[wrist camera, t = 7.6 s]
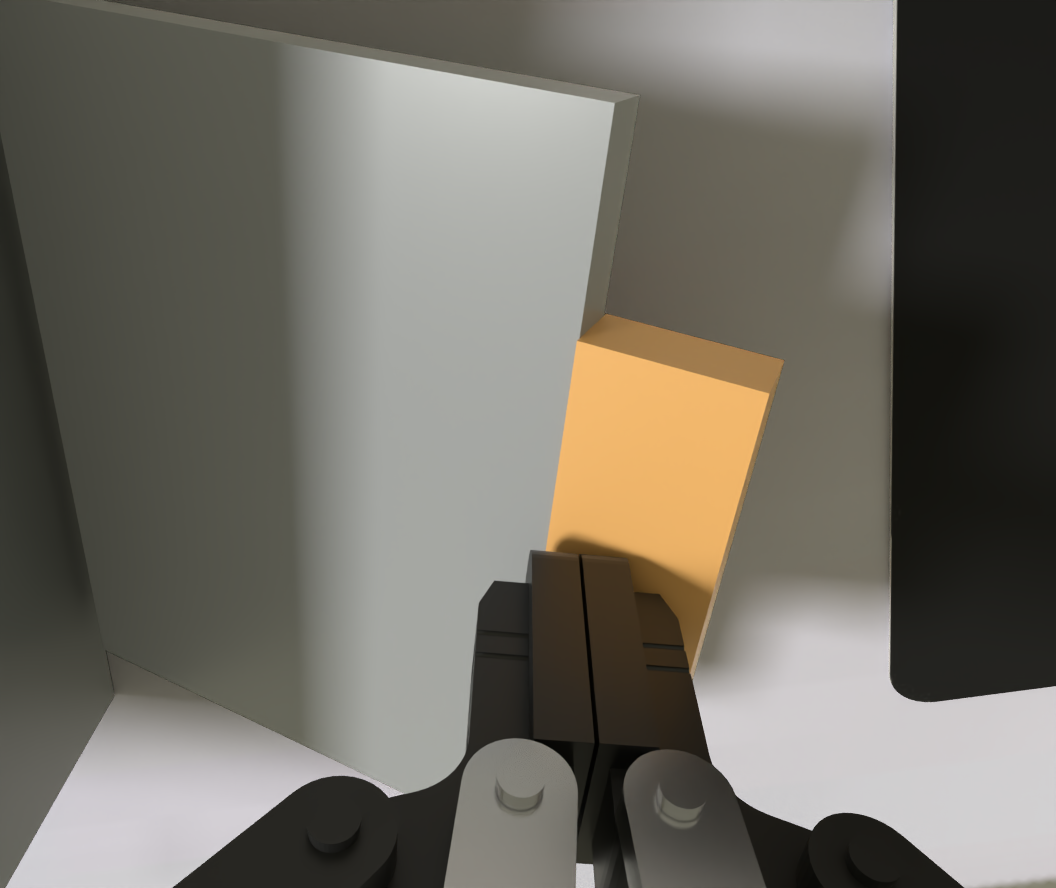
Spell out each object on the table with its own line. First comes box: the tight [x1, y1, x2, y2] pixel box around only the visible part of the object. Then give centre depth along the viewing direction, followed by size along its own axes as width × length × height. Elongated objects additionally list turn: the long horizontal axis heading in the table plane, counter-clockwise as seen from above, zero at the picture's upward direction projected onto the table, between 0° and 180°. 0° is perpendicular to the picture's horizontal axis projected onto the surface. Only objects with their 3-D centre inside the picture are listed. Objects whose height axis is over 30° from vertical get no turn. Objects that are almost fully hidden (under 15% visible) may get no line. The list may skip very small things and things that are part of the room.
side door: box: [0, 0, 785, 794], centre depth 15 cm, size 14×1×13 cm
